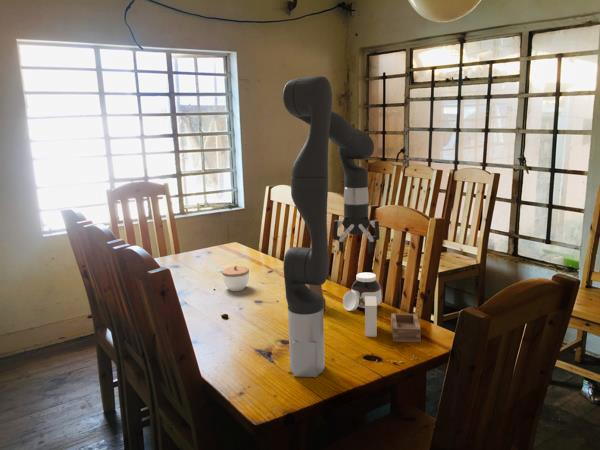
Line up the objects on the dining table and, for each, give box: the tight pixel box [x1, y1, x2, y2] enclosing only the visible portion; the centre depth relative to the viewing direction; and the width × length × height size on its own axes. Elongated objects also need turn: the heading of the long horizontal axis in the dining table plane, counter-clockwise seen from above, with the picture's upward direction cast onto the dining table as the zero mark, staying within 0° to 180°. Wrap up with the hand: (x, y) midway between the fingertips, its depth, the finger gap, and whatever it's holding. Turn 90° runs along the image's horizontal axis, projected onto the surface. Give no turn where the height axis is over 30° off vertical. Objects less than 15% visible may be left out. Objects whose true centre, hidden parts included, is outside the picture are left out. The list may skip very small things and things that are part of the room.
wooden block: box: [305, 284, 327, 313], centre depth 170 cm, size 9×4×18 cm, turn 15°
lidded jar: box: [221, 265, 250, 292], centre depth 194 cm, size 11×11×9 cm
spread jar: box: [342, 271, 382, 312], centre depth 169 cm, size 12×11×12 cm
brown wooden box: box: [390, 312, 422, 343], centre depth 149 cm, size 12×8×4 cm, turn 172°
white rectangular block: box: [364, 296, 378, 338], centre depth 151 cm, size 8×4×10 cm, turn 172°
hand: (356, 252), depth 152 cm, fingers open, 8 cm apart
